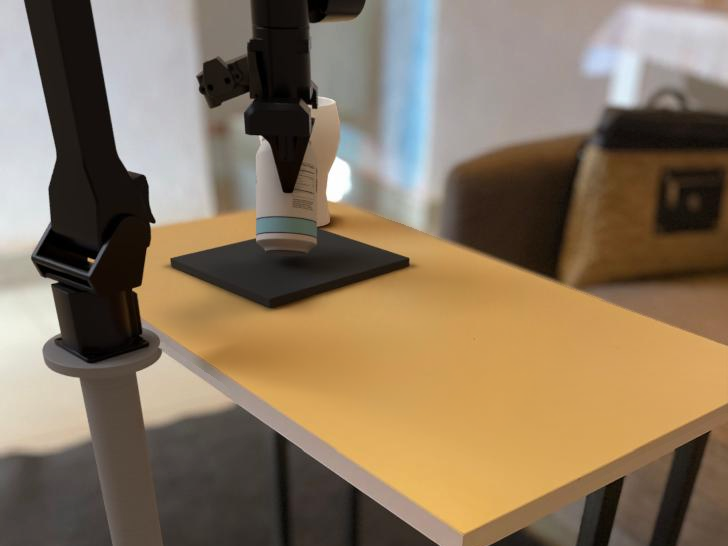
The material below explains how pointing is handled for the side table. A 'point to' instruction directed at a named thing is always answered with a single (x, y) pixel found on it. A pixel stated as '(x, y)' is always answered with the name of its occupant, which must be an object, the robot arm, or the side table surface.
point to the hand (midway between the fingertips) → (288, 192)
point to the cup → (324, 150)
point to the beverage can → (286, 206)
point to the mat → (289, 268)
